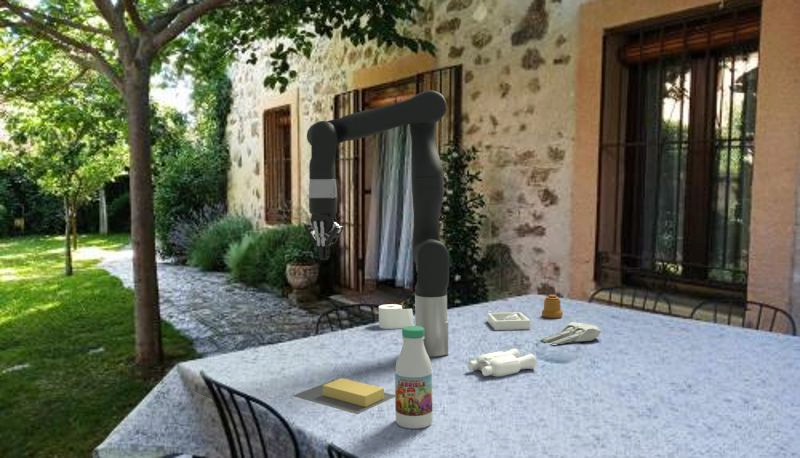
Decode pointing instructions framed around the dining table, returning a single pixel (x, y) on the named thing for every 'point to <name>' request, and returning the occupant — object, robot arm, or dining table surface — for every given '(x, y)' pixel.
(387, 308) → the toilet paper
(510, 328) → the holder
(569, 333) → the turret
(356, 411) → the mat
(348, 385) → the box
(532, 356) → the binoculars
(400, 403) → the milk bottle
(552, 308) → the ornamental finial
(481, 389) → the dining table surface
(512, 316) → the whipped cream
